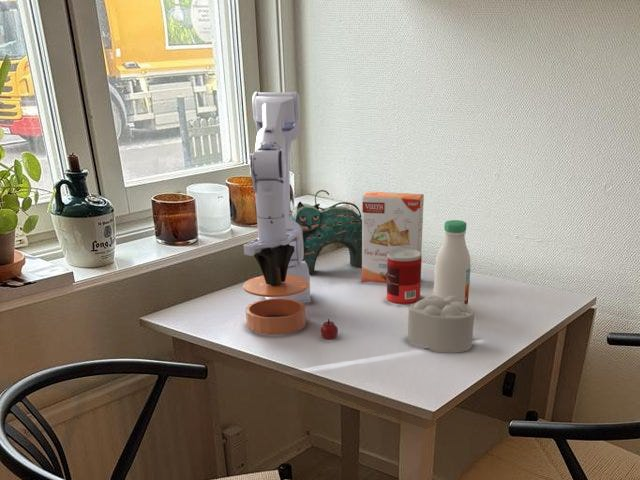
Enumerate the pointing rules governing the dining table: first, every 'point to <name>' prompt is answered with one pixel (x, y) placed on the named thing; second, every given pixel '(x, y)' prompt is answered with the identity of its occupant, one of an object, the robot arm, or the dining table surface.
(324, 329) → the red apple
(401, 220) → the cracker box
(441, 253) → the milk bottle
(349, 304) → the dining table surface
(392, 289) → the canned food
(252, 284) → the lid
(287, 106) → the robot arm
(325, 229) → the ceramic cat
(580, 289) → the dining table surface
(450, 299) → the lumpy-topped squat cylinder
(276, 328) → the pot
